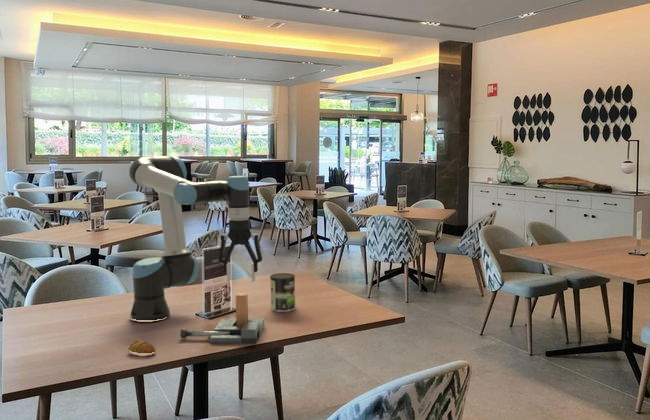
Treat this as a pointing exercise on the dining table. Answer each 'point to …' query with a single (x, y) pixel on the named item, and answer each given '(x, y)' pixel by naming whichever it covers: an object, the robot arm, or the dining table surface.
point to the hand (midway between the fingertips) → (241, 280)
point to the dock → (238, 331)
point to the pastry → (141, 347)
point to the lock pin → (201, 333)
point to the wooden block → (241, 309)
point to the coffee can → (282, 292)
